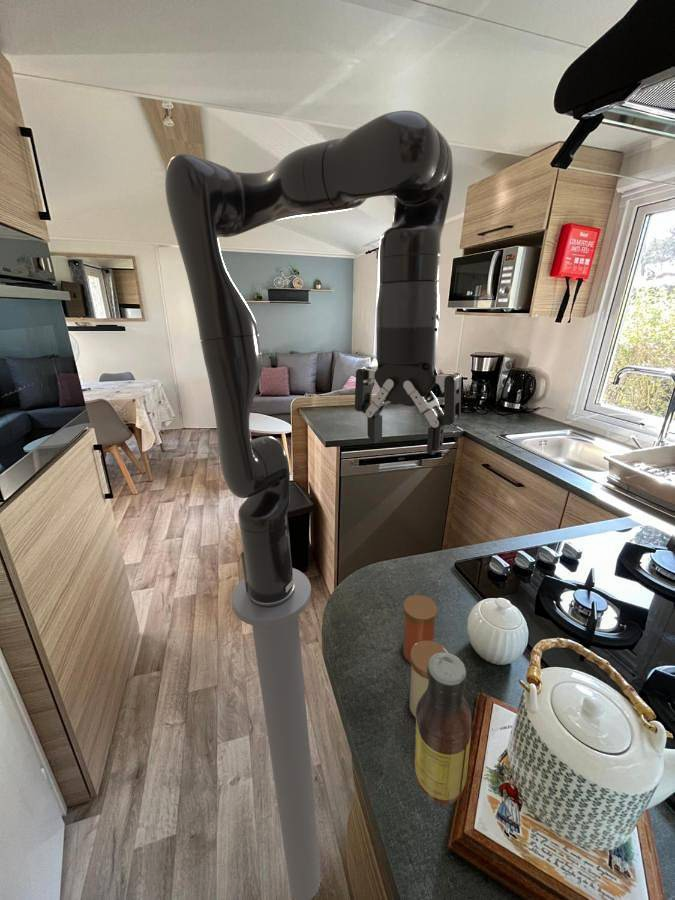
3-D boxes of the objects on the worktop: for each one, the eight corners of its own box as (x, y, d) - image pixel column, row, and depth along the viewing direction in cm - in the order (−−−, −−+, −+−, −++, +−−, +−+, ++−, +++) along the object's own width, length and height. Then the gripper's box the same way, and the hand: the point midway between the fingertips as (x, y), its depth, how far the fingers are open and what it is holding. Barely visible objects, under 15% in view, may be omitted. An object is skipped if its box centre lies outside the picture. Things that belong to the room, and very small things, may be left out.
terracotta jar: (396, 656, 65) (397, 610, 61) (410, 635, 69) (412, 590, 66) (426, 672, 62) (429, 624, 58) (438, 649, 66) (442, 603, 63)
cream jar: (401, 711, 56) (403, 660, 53) (417, 683, 60) (420, 634, 57) (436, 733, 53) (441, 680, 50) (450, 702, 57) (455, 651, 54)
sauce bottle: (437, 742, 52) (448, 631, 45) (475, 786, 47) (493, 670, 40) (402, 772, 49) (407, 658, 42) (438, 824, 44) (451, 704, 37)
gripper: (342, 325, 48) (345, 445, 53) (453, 324, 40) (443, 466, 46) (372, 322, 53) (372, 431, 59) (475, 321, 46) (463, 447, 51)
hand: (403, 446), depth 52 cm, fingers open, 8 cm apart
